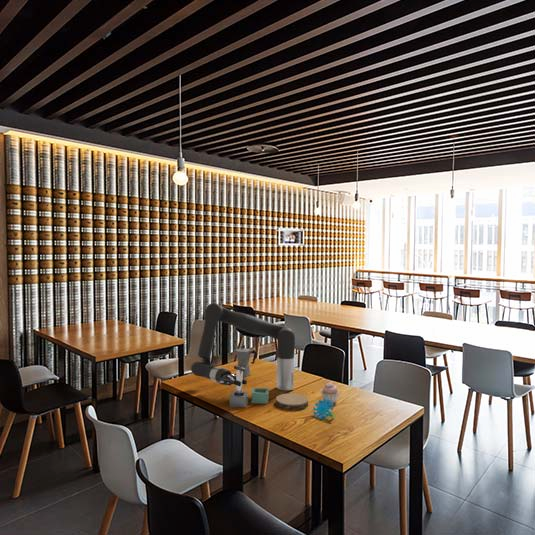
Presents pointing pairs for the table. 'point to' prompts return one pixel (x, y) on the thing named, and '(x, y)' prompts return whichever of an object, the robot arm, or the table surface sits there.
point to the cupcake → (330, 392)
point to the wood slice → (292, 401)
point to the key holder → (260, 395)
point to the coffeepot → (245, 359)
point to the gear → (323, 409)
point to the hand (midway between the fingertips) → (243, 383)
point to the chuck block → (238, 399)
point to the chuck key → (239, 379)
